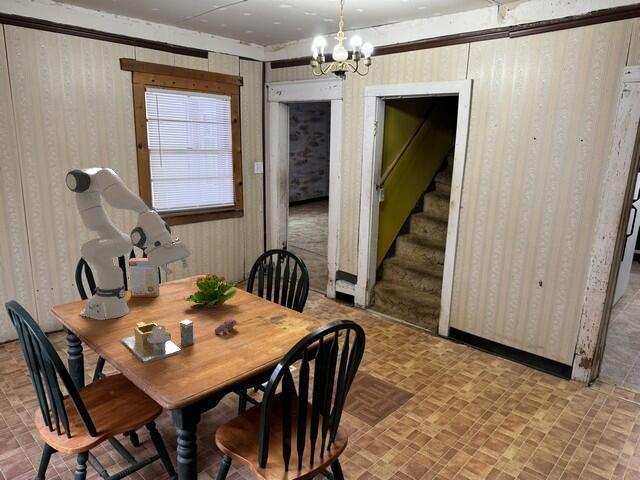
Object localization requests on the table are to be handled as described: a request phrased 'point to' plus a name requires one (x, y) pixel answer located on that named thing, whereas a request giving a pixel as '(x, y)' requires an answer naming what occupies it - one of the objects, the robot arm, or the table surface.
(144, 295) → the cracker box
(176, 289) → the table surface
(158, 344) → the silver and gold device
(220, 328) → the video game controller
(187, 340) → the tall grey square post
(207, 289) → the potted flower
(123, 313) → the robot arm
